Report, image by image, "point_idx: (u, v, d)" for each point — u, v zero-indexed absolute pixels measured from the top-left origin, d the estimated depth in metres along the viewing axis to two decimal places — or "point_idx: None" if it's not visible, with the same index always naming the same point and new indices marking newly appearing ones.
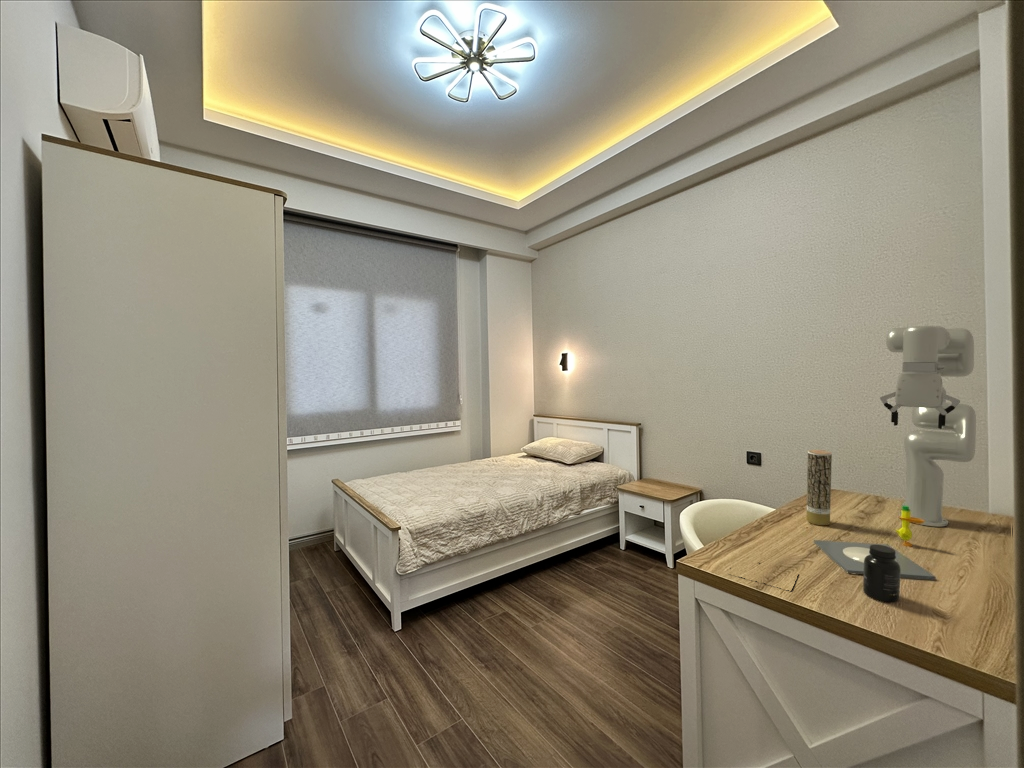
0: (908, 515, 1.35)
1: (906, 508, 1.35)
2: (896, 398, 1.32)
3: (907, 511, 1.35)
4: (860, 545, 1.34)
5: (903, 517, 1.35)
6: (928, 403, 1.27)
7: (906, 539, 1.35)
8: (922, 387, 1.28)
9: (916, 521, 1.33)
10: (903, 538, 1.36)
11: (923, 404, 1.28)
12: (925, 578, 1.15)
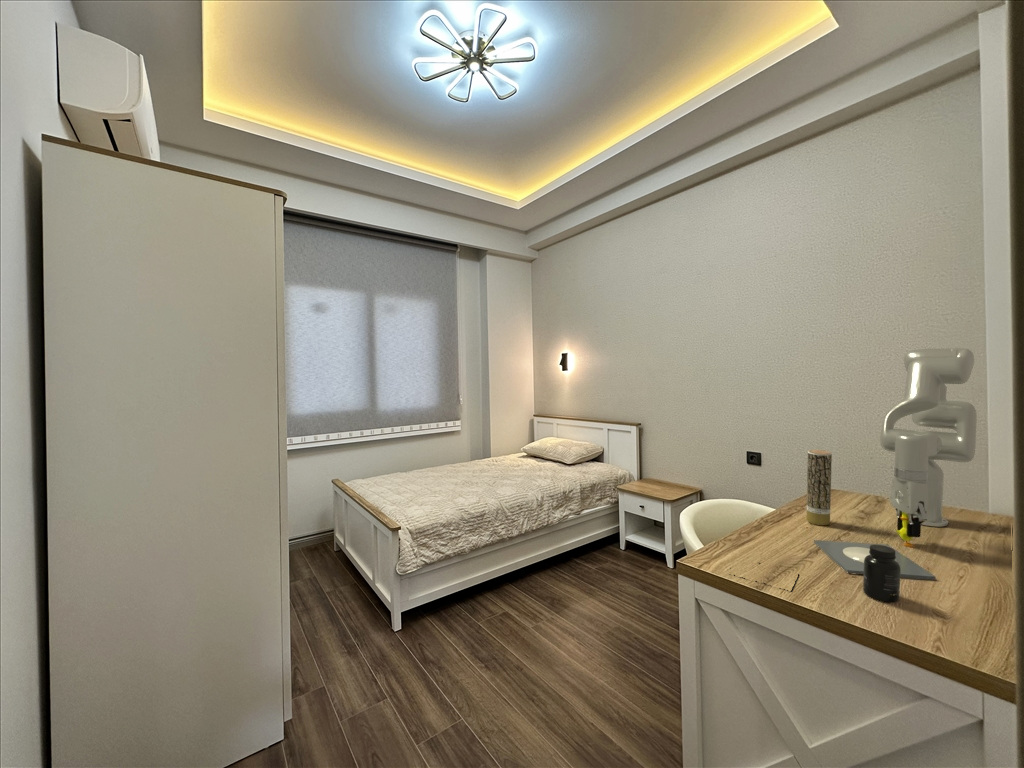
0: None
1: None
2: (927, 509, 1.30)
3: None
4: (860, 545, 1.34)
5: (904, 517, 1.35)
6: None
7: (907, 539, 1.35)
8: None
9: None
10: (904, 538, 1.35)
11: None
12: (925, 578, 1.15)
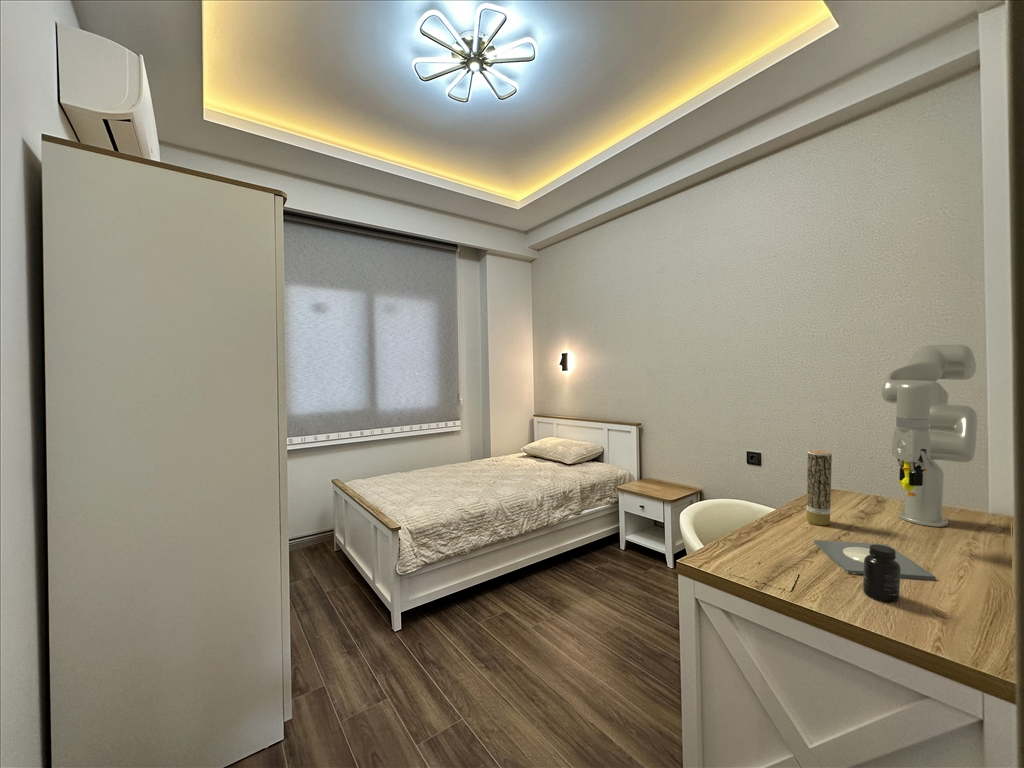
0: None
1: None
2: (930, 456, 1.29)
3: None
4: (860, 545, 1.34)
5: (906, 467, 1.34)
6: None
7: (909, 489, 1.34)
8: None
9: None
10: (906, 488, 1.34)
11: None
12: (925, 578, 1.15)
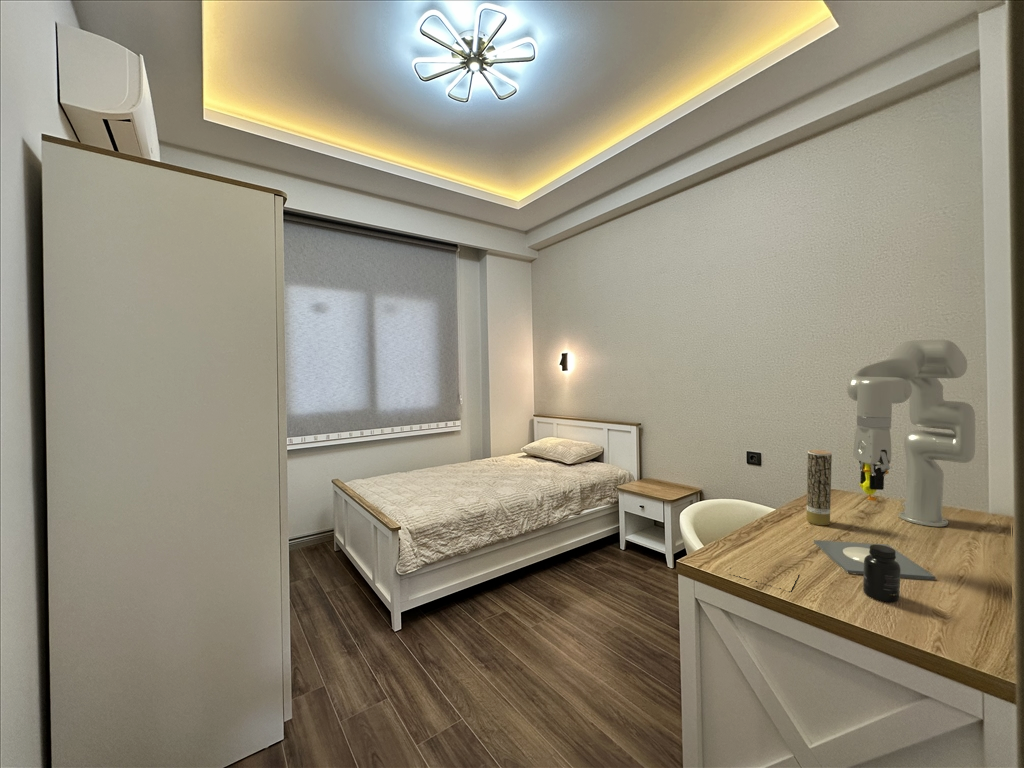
0: None
1: None
2: None
3: None
4: (860, 545, 1.34)
5: (867, 469, 1.25)
6: None
7: (870, 493, 1.25)
8: None
9: None
10: (867, 492, 1.25)
11: None
12: (925, 578, 1.15)
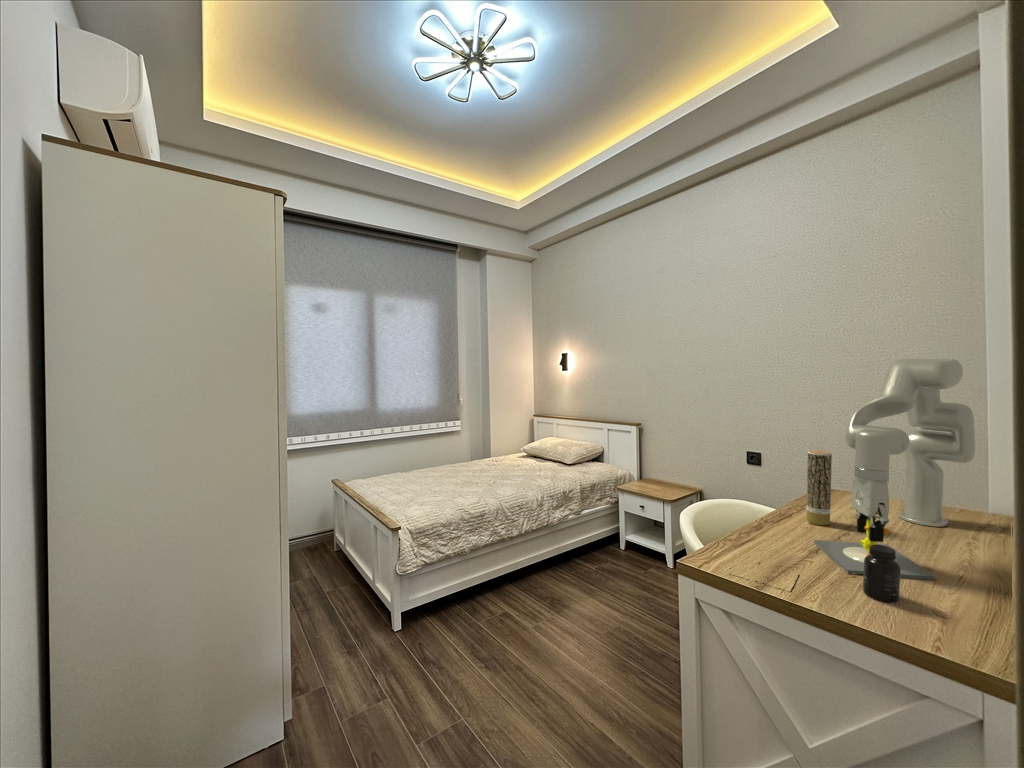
0: None
1: None
2: (888, 511, 1.21)
3: None
4: (860, 545, 1.34)
5: (868, 527, 1.25)
6: None
7: None
8: None
9: None
10: (867, 549, 1.25)
11: None
12: (925, 578, 1.15)
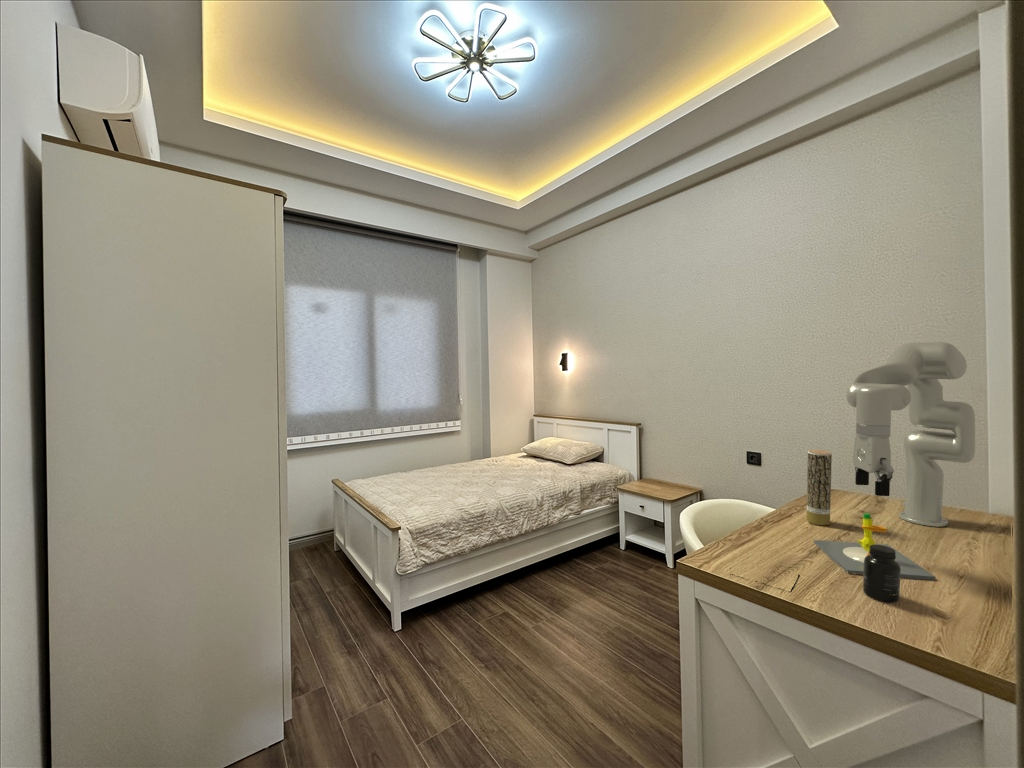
0: (870, 523, 1.25)
1: (867, 516, 1.26)
2: None
3: (869, 519, 1.25)
4: (860, 545, 1.34)
5: (865, 526, 1.26)
6: None
7: None
8: None
9: (879, 529, 1.24)
10: (867, 549, 1.26)
11: None
12: (925, 578, 1.15)
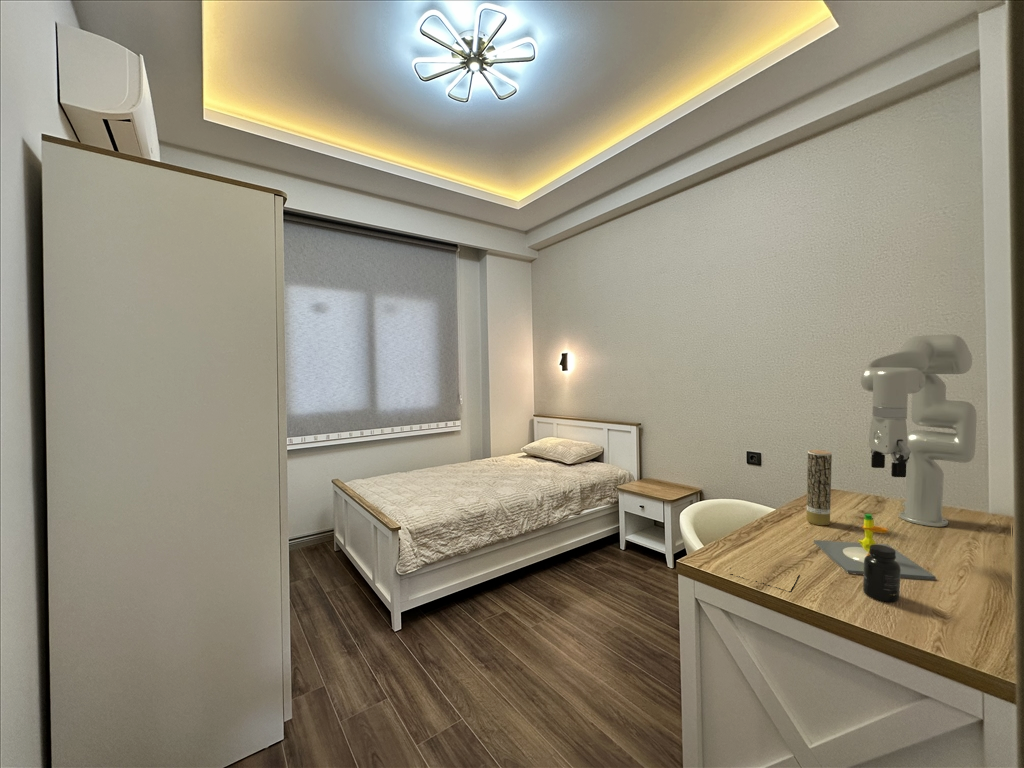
0: (872, 524, 1.25)
1: (869, 517, 1.25)
2: None
3: (870, 520, 1.25)
4: (860, 545, 1.34)
5: (866, 527, 1.25)
6: None
7: None
8: None
9: (880, 530, 1.24)
10: (867, 549, 1.26)
11: None
12: (925, 578, 1.15)
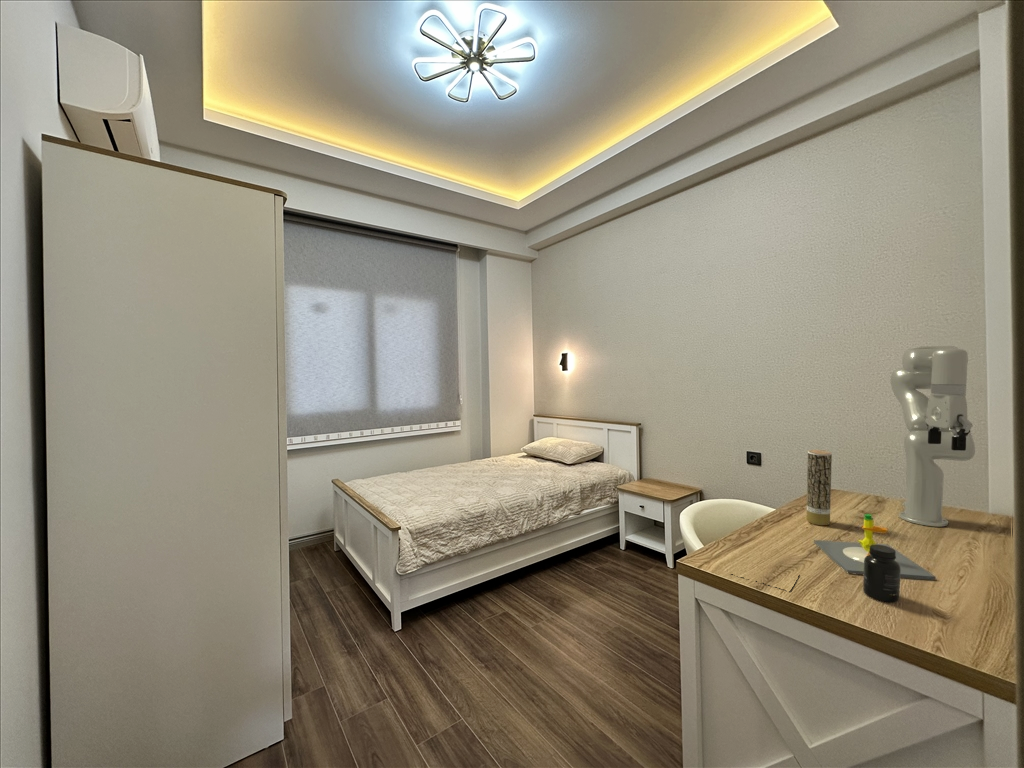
0: (871, 524, 1.25)
1: (869, 517, 1.25)
2: None
3: (870, 520, 1.25)
4: (860, 545, 1.34)
5: (866, 527, 1.25)
6: None
7: None
8: None
9: (879, 531, 1.24)
10: (867, 549, 1.26)
11: None
12: (925, 578, 1.15)
